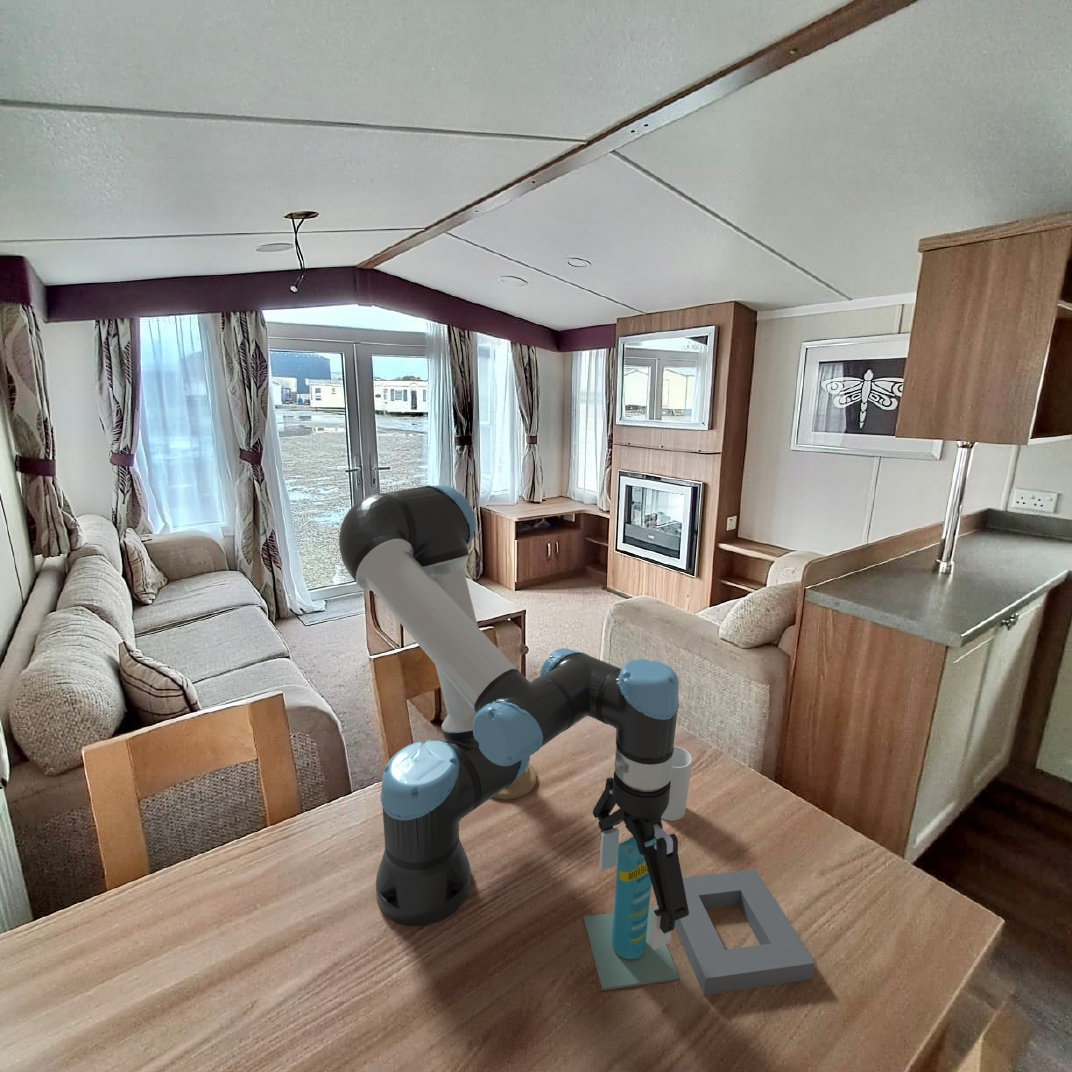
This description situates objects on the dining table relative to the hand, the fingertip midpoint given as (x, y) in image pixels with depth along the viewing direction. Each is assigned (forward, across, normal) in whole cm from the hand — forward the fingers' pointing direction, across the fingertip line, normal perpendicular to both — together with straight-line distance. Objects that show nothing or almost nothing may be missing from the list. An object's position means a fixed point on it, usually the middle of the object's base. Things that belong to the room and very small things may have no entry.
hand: (632, 902), depth 83 cm
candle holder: (+8, -41, -3) cm, 42 cm away
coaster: (+8, 0, 0) cm, 8 cm away
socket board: (+8, +4, +16) cm, 18 cm away
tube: (+8, 0, 0) cm, 8 cm away
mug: (+8, -23, +23) cm, 33 cm away
